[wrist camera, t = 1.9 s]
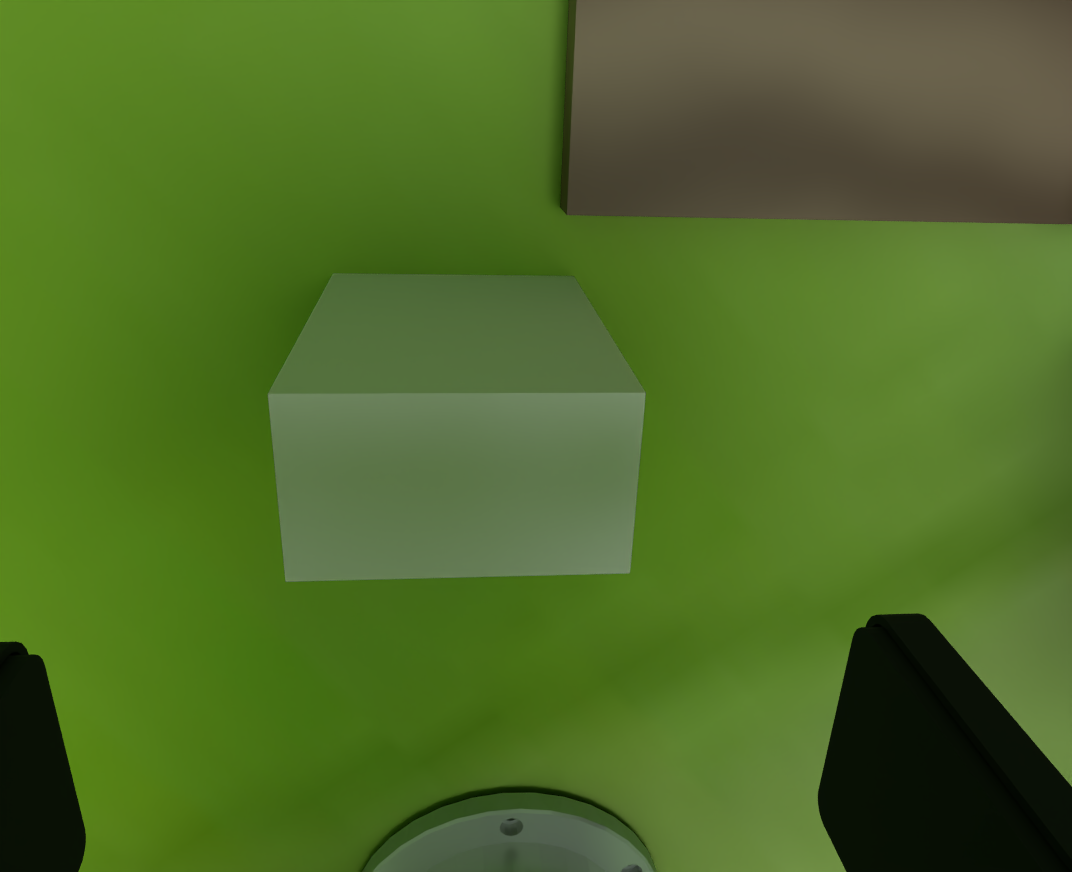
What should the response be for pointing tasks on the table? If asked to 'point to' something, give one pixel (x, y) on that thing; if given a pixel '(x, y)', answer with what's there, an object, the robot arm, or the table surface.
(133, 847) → the table surface
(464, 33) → the table surface
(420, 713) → the table surface
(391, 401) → the plain rectangular box
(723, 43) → the shelf
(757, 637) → the table surface
